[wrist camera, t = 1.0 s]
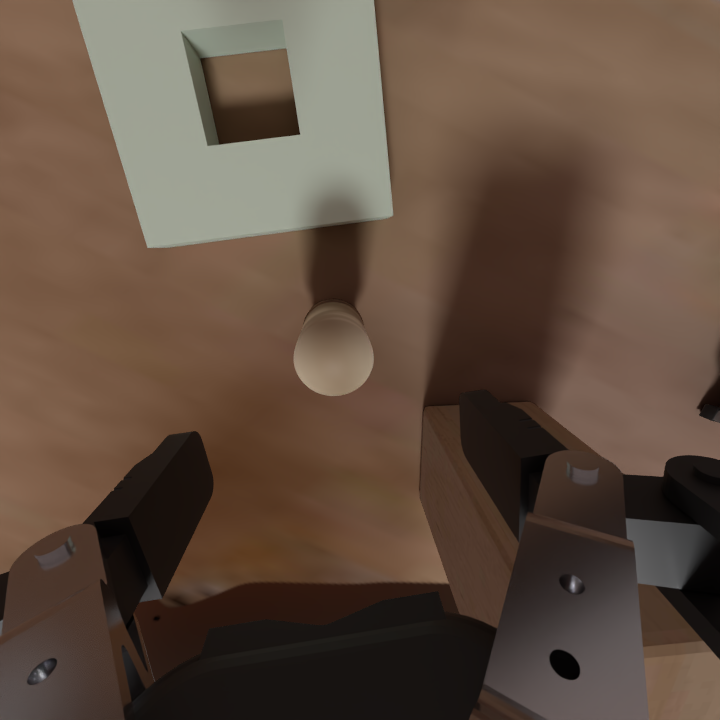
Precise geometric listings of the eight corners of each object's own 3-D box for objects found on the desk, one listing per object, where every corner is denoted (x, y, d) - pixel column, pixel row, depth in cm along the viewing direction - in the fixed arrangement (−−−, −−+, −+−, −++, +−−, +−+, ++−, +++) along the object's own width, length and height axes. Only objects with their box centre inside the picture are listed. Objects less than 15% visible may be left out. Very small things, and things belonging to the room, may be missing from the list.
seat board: (358, -70, 21) (363, -119, 18) (386, 218, 26) (393, 215, 23) (85, -40, 20) (46, -86, 18) (168, 247, 25) (147, 247, 23)
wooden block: (418, 498, 34) (525, 817, 15) (422, 404, 31) (564, 656, 12) (518, 492, 35) (742, 789, 16) (532, 399, 32) (831, 630, 13)
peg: (356, 289, 27) (369, 313, 18) (363, 342, 29) (378, 390, 19) (301, 297, 27) (285, 325, 18) (311, 350, 29) (300, 402, 19)
